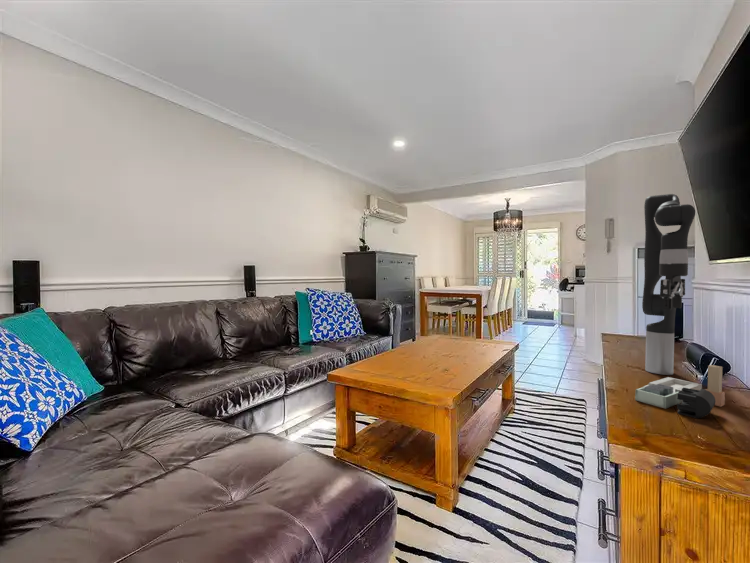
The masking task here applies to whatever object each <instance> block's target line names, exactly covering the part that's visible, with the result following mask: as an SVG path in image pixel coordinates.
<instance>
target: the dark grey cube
mask: <svg viewBox="0 0 750 563" xmlns="http://www.w3.org/2000/svg"><path fill="white" fill-rule="evenodd" d="M648 385H649V384H648ZM645 386H646V385H645ZM645 392H649V393H653V394H657V395H661V396H665V388H661V387H657V386H652V385H649V386H646V387H645Z"/></svg>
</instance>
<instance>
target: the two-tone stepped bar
mask: <svg viewBox="0 0 750 563" xmlns="http://www.w3.org/2000/svg"><path fill="white" fill-rule="evenodd" d="M705 389H706V390H707V391H709V392H710V393H712V394H713V396H714V397H715V401H716V402H715V405H714V406H717V407H724V406H726V392H725V391H723V366H721V365H714V364H710V365H707V388H705Z"/></svg>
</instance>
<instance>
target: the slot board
mask: <svg viewBox="0 0 750 563" xmlns="http://www.w3.org/2000/svg"><path fill="white" fill-rule="evenodd" d="M656 384H661V385H666V386H670V387H674V388H673V393H675V392H678V391H682V388H689V389H694V390H699V391H700V390H701V389H703V384H702V383H698V382H693V381H688V380H684V379H679V378H674V377H671V376H670V377H669V376H667V377H664V378H661V379H657V380H653V381H650V382H648V384H647V385H643V387H645V386H649V385H656ZM706 389H707V388H705V390H706ZM682 402H683V400H680V403H679V404H681V403H682Z"/></svg>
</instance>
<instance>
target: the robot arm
mask: <svg viewBox="0 0 750 563" xmlns="http://www.w3.org/2000/svg"><path fill="white" fill-rule="evenodd" d="M680 203H681V202H680V198H679V196H678V195H677V194H673V193H667V194H666V193H665V194H659V195H657V194H656V195H650V196H647V197H646V198H645V201H644V206H643V208H644V209H643V210H644V211H643V212H644V228H645V235H644V236H645V238H644V240H645V241H644V255H643V257H644V259H643V260H644V261H643V262H644V263H643V264H644V278H643V279H644V282H643V283H644V284H643V292H642V293H643V294H642V306H641V307H642V312H643V313H644V315H647V316H657V317H664V318H663V319H661V320H660V321H657V322H651V323H648V324H646V327H645V329H646V330H645V331H646V332H645V362H644V363H645V366H644V368H645V369H644V370H645V371H646V372H648V373H651V374H658V375H662V376H663V375H664V376H665V375H667V376H673V375H674V366H675V365H674V360H675V359H674V358H675V326H676V312H677V309H681V308H682V307H683V305H682V304H683V297H684V296H686V279H685V278H681V277H687V276H689V271H688V270H689V253H688V238H689V232H690V230H691V226H692V224H693V222H694V220H695V216H696V208H695V207H694V206H693V205H692V204H688V203H687V204H680ZM657 225H658V226H659V227H670V226H671V227H674V226H680V227H679V228H678V229H677V230H675V231H671V232H666V233H664V234H663V233H662V232H661V230H660V229H659V227H658V226H657ZM662 277H665V279H661V278H662ZM659 280H660V286H659V287H660V288H659V290H660V291H659V293H654V292H655V289H656V286H657V284H658V282H659Z"/></svg>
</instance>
